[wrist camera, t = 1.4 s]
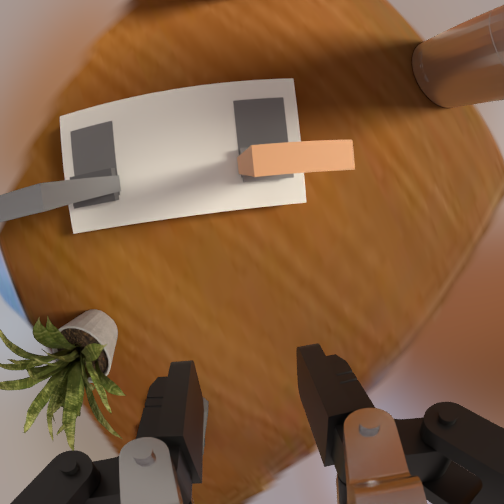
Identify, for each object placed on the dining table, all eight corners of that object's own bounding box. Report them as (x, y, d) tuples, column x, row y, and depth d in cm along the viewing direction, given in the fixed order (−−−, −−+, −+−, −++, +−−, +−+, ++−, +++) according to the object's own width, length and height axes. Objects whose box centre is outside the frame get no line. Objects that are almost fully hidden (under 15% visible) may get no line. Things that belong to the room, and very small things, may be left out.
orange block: (291, 144, 28) (350, 125, 14) (294, 176, 28) (355, 184, 15) (236, 149, 27) (249, 129, 14) (239, 182, 28) (256, 193, 15)
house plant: (23, 293, 32) (-55, 357, 16) (101, 243, 31) (18, 302, 16) (84, 382, 36) (40, 470, 20) (166, 349, 35) (140, 454, 19)
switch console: (287, 86, 29) (293, 78, 26) (298, 199, 32) (306, 202, 29) (72, 120, 28) (59, 116, 25) (84, 228, 31) (73, 233, 28)
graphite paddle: (117, 167, 27) (38, 169, 13) (122, 199, 27) (46, 225, 14) (72, 177, 26) (-22, 189, 13) (76, 207, 27) (-14, 238, 14)
